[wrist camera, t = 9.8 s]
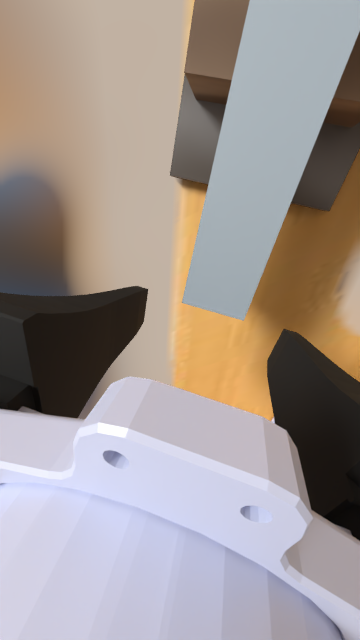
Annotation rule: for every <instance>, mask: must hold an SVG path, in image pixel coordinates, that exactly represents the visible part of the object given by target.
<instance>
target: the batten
mask: <svg viewBox="0 0 360 640" xmlns="http://www.w3.org/2000/svg"><path fill="white" fill-rule="evenodd" d="M359 31H360V0H250V1H249V6H248V10H247V15H246V19H245V24H244V28H243V33H242V37H241V42H240V46H239V51H238V55H237V59H236V64H235V68H234V73H233V77H232V82H231V86H230V91H229V95H228V100H227V104H226V109H225V113H224V117H223V122H222V126H221V131H220V135H219V140H218V144H217V149H216V153H215V158H214V162H213V166H212V171H211V175H210V180H209V184H208V189H207V193H206V198H205V202H204V207H203V211H202V216H201V220H200V224H199V229H198V233H197V238H196V242H195V247H194V251H193V256H192V260H191V265H190V269H189V274H188V278H187V282H186V287H185V291H184V296H183V300H182V303H184V304H188V305H191V306H195V307H198V308H202V309H205V310H209V311H212V312H216V313H219V314H223V315H226V316H230V317H233V318H236V319H240V320H243V321H244V319H245V316H246V314H247V311H248V309H249V306H250V304H251V301H252V299H253V296H254V294H255V291H256V289H257V286H258V284H259V281H260V279H261V276H262V274H263V271H264V269H265V266H266V264H267V261H268V259H269V256H270V254H271V251H272V249H273V246H274V244H275V241H276V239H277V236H278V234H279V231H280V229H281V226H282V224H283V221H284V219H285V216H286V214H287V211H288V209H289V206H290V204H291V201H292V199H293V196H294V194H295V191H296V189H297V186H298V184H299V181H300V179H301V176H302V174H303V171H304V169H305V166H306V164H307V161H308V159H309V156H310V154H311V151H312V149H313V146H314V144H315V141H316V139H317V136H318V134H319V131H320V129H321V126H322V124H323V121H324V119H325V116H326V114H327V111H328V109H329V106H330V104H331V101H332V99H333V96H334V94H335V91H336V89H337V86H338V84H339V81H340V79H341V76H342V74H343V71H344V69H345V66H346V64H347V61H348V59H349V56H350V54H351V51H352V49H353V46H354V44H355V41H356V39H357V36H358V34H359Z"/></svg>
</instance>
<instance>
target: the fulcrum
mask: <svg viewBox="0 0 360 640" xmlns="http://www.w3.org/2000/svg"><path fill="white" fill-rule="evenodd" d="M249 1H250V0H195V2H194V9H193V16H192V23H191V30H190V37H189V44H188V50H187V57H186V64H185V71H184V73H185V76H184V83H183V90H182V97H181V104H180V110H179V117H178V124H177V131H176V138H175V145H174V151H173V159H172V165H171V172H170V175H171V176H173V177H177V178H181V179H185V180H190V181H194V182H199V183H203V184H209V180H210V175H211V171H212V166H213V162H214V158H215V153H216V149H217V144H218V140H219V135H220V131H221V126H222V122H223V117H224V113H225V109H226V104H227V100H228V95H229V91H230V86H231V82H232V77H233V73H234V68H235V64H236V59H237V55H238V51H239V46H240V42H241V37H242V33H243V28H244V24H245V19H246V15H247V10H248V6H249ZM359 149H360V31H359V34H358V36H357V39H356V41H355V44H354V46H353V49H352V51H351V54H350V56H349V59H348V61H347V64H346V66H345V69H344V71H343V74H342V76H341V79H340V81H339V84H338V86H337V89H336V91H335V94H334V96H333V99H332V101H331V104H330V106H329V109H328V111H327V114H326V116H325V119H324V121H323V124H322V126H321V129H320V131H319V134H318V136H317V139H316V141H315V144H314V146H313V149H312V151H311V154H310V156H309V159H308V161H307V164H306V166H305V169H304V171H303V174H302V176H301V179H300V181H299V184H298V186H297V189H296V191H295V194H294V196H293V199H292V201H291V203H293V204H297V205H301V206H306V207H310V208H315V209H319V210H324V211H330V208H331V206H332V204H333V202H334V200H335V198H336V196H337V194H338V192H339V190H340V188H341V186H342V184H343V182H344V180H345V178H346V176H347V174H348V172H349V170H350V167H351V165H352V163H353V161H354V159H355V157H356V155H357V153H358V151H359Z"/></svg>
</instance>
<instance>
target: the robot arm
mask: <svg viewBox="0 0 360 640" xmlns="http://www.w3.org/2000/svg"><path fill="white" fill-rule="evenodd" d="M147 294H148V289H145V288H142V287H139V286H133V287H127V288H122V289H117V290H112V291H107V292H101V293H95V294H88V295H77V296H29V295H17V294H8V293H0V640H360V382H358V381H357V380H356V379H354V378H353V377H351V376H350V375H349V374H347V373H346V372H345V371H343V370H342V369H341V368H339V367H338V366H337V365H336V364H334V363H333V362H332V361H331V360H330V359H328V358H327V357H326V356H325V355H324V354H322V353H321V352H320V351H319V350H318V349H317V348H316V347H314V346H313V345H312V344H311V343H310V342H309V341H307V340H306V339H305V338H304V337H302V336H301V335H300V334H298V333H296V332H293V331H290V330H286V329H284V330H283V331H282V333H281V335H280V337H279V339H278V341H277V343H276V345H275V347H274V349H273V350H272V352H271V354H270V356H269V358H268V360H267V377H268V384H269V390H270V396H271V402H272V407H273V413H274V417H273V419H272V420H271V421H269V420H267V419H265V418H264V417H262V416H259V415H256V414H253V413H250V412H247V411H244V410H241V409H238V408H235V407H232V406H230V405H227V404H224V403H221V402H218V401H215V400H212V399H209V398H206V397H203V396H200V395H197V394H194V393H191V392H188V391H185V390H182V389H179V388H176V387H173V386H171V385H168V384H165V383H162V382H158V381H156V380H152V379H144V378H136V377H126V378H124V379H121V380H119V381H116V382H114V383H112V384H111V385H110V386H109V387H108V389H107V390H106V392H105V393H104V394H103V396H102V397H101V399H100V400H99V401H98V403H97V404H96V405H95V407H94V408H93V410H92V411H91V412H90V414H89V415H88V416H87V418H86V419H78V416H79V415H80V413H81V411H82V409H83V408H84V406H85V404H86V402H87V401H88V399H89V398H90V396H91V394H92V393H93V391H94V390H95V388H96V386H97V385H98V383H99V382H100V380H101V379H102V377H103V375H104V374H105V373H106V371H107V370H108V368H109V367H110V365H111V364H112V363H113V362H114V360H115V359H116V358H117V357H118V355H119V354H120V353H121V352H122V351H123V350H124V349H125V347H126V346H127V345H128V344H129V342H130V341H131V340H132V339H133V338H134V336H135V335H136V334H137V332H138V331H139V329H140V327H141V325H142V324H143V322H144V316H145V309H146V301H147Z"/></svg>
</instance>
